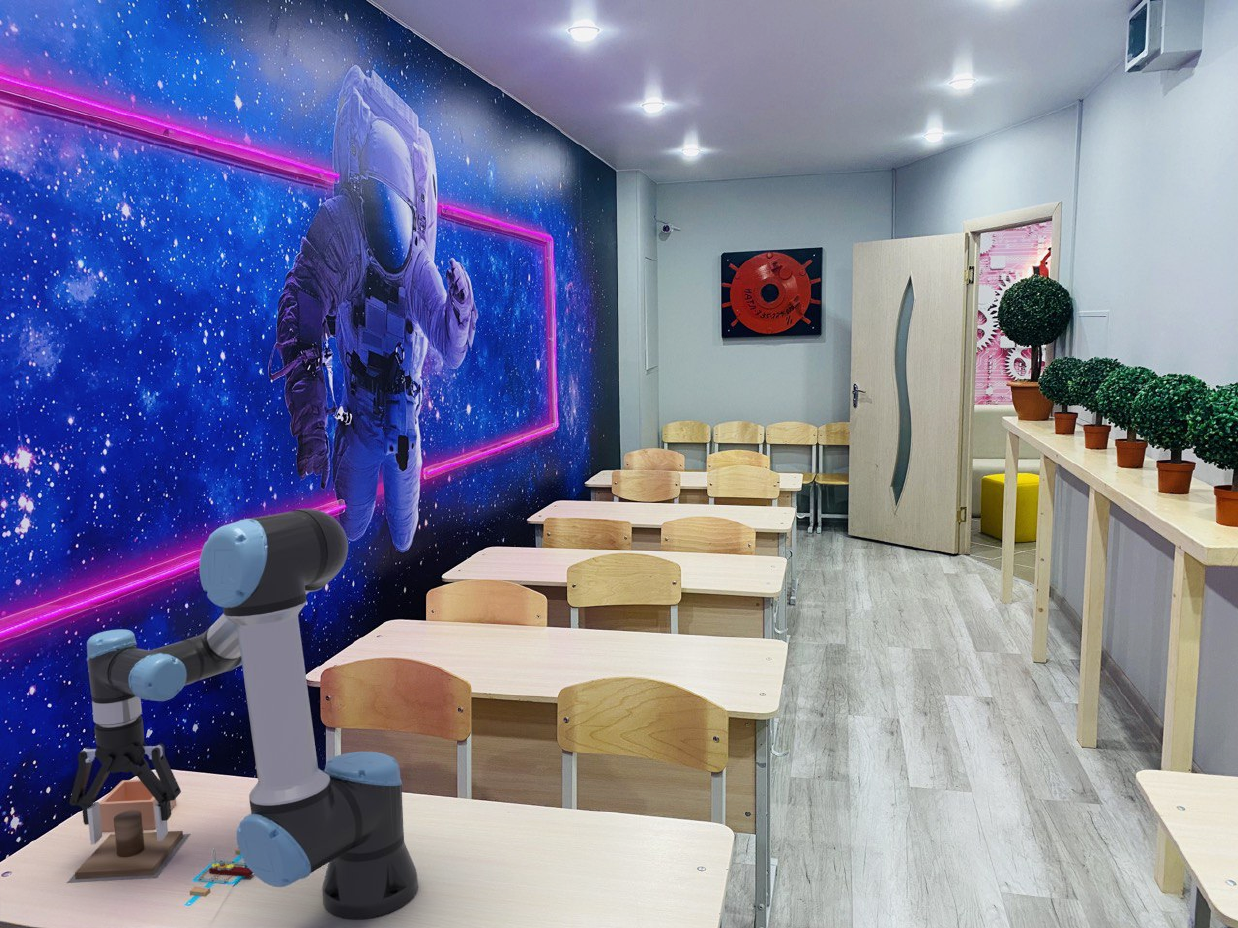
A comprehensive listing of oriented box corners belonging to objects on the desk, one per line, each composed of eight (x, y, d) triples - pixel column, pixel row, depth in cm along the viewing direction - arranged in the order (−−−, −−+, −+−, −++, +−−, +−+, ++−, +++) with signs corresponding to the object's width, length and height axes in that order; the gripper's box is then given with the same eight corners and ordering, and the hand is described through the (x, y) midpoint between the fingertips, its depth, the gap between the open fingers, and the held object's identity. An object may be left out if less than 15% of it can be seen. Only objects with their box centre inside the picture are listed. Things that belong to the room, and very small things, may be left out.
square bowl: (155, 831, 182) (152, 801, 181) (100, 834, 182) (97, 804, 181) (176, 806, 192) (174, 777, 191) (124, 809, 192) (122, 780, 191)
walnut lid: (153, 874, 166) (149, 832, 165) (75, 879, 165) (71, 836, 164) (183, 836, 179) (179, 797, 178) (111, 840, 178) (107, 800, 177)
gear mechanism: (283, 850, 175) (236, 846, 177) (281, 822, 174) (234, 818, 176) (217, 914, 156) (165, 909, 157) (214, 883, 155) (162, 878, 157)
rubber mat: (157, 880, 165) (156, 877, 165) (66, 885, 164) (66, 882, 164) (191, 836, 180) (190, 833, 180) (108, 840, 179) (108, 837, 179)
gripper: (194, 708, 173) (204, 824, 176) (61, 714, 172) (73, 831, 175) (177, 724, 166) (188, 845, 169) (38, 730, 165) (51, 853, 167)
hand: (129, 838), depth 172 cm, fingers open, 11 cm apart
